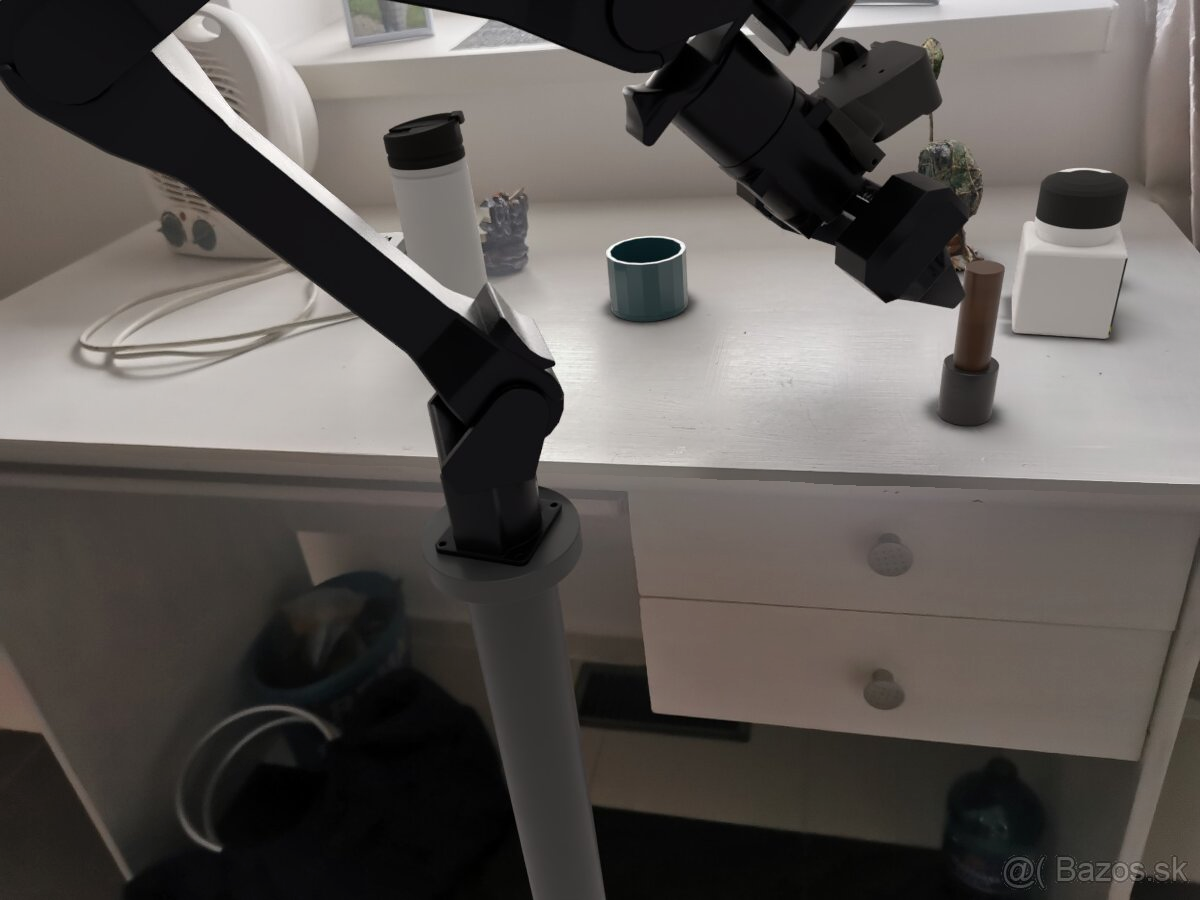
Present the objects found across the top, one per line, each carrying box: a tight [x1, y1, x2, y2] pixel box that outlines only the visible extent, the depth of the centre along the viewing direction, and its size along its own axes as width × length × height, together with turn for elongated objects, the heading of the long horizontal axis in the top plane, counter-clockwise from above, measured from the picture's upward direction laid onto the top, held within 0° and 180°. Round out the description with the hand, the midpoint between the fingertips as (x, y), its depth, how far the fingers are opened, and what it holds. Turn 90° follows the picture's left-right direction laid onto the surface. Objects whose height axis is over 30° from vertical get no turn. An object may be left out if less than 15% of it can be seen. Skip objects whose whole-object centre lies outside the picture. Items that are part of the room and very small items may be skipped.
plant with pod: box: [917, 36, 985, 272], centre depth 83 cm, size 8×11×20 cm
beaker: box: [605, 235, 689, 323], centre depth 84 cm, size 7×7×6 cm
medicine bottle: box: [1011, 167, 1129, 340], centre depth 72 cm, size 7×7×12 cm
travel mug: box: [382, 109, 489, 299], centre depth 76 cm, size 6×7×20 cm
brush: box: [936, 259, 1006, 427], centre depth 62 cm, size 4×4×11 cm
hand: (916, 275), depth 58 cm, fingers open, 9 cm apart
